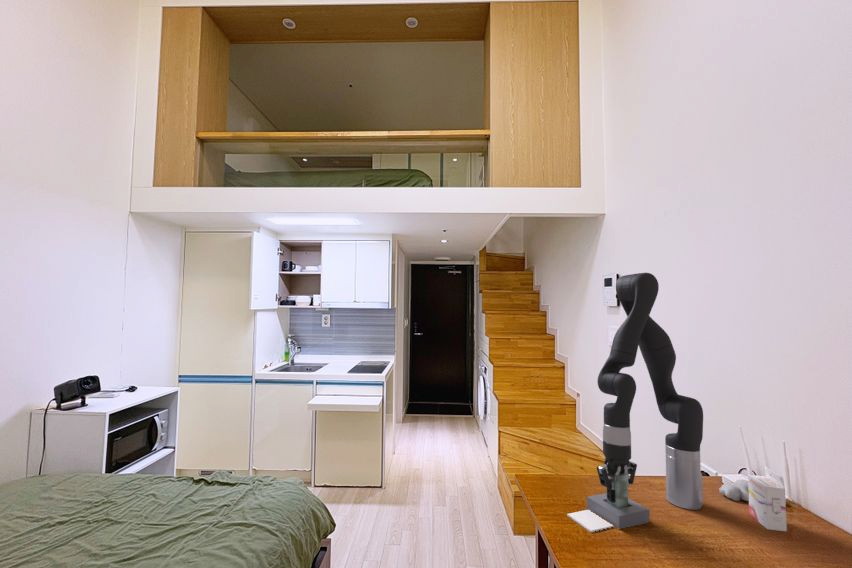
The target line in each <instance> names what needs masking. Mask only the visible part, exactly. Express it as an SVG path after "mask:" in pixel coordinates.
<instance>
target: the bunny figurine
mask: <svg viewBox="0 0 852 568" xmlns="http://www.w3.org/2000/svg"><path fill="white" fill-rule="evenodd" d="M718 491H719V493H720V494H721V495H724V496H725V497H726V498H728V499H731V500H733V501H735V502H740V501H742V500H743V501H746V502H749V488H748V480H747V479H738V480H736V481H734V482H732V481H724V482H723V484H722V485H721V486H720V487H719V488H718Z"/></svg>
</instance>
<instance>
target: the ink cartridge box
mask: <svg viewBox="0 0 852 568" xmlns="http://www.w3.org/2000/svg"><path fill="white" fill-rule="evenodd" d="M764 474H765V476H764V475H756V474H747V481H748V488H749V501H748V513H749V515H750V517H752V518H754V520H755V521H757V522H758V523H760V524H761V525H762V527H764V528H765V529H767V530H770V531H771V530H772V531H779V532H787V531H788V530H787V529H788V527H787V510H786V507H787V504H786V489H785V483H784V481H785V480H784V478H783V476H782V475H781V474H780V473H777V472H775V471H774V470H772V469H770V468H769V467H767V466H764ZM775 477H776V478H775Z"/></svg>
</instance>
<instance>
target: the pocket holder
mask: <svg viewBox="0 0 852 568" xmlns="http://www.w3.org/2000/svg"><path fill="white" fill-rule="evenodd" d="M586 510H590V511H592V512H594V513H595V514H597V515H598V516H600V517H602V518H604V519H605V520H606V521H608V522H609V523H611V524H612V525H614V526H613V527H615V528H616V527H617V528H616V529H618V528H619V529H618V530H622V529H621V528H624V529H626V527H628V528H632V527H636V526H640V525H643V524H648V523H650V509H649V508H647V507H646V506H644V505H642V504H640V503H639V502H636V501H634V500H633V499H630V498H629V497H628V507H625V508H621V509H617V508H615V507H614V506H612V505H610V504H609V503H607V492H604V493H599V494H595V495H589V496H586ZM635 525H636V526H635ZM631 526H632V527H631Z"/></svg>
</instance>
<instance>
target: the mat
mask: <svg viewBox="0 0 852 568" xmlns="http://www.w3.org/2000/svg"><path fill="white" fill-rule="evenodd" d="M566 516H567V517H568V518H569V519H571V520H572V521H573V522H575V523H576V524H578V525H580V526H581V527H582V528H584V529H585V530H587V531H588V532H589V533H590V534H591V533H596V532H599V530H600V531H603V529H605V530H608V529H607V528H609V529H612V528H611V527H613V528H614V526H613V525H612V524H610V523H609V522H607V521H606V520H604V519H602V518H601V517H599V516H598V515H596V514H595V513H593V512H591V511H590V510H588V509H584V510H579V511H576V512H571V513H566ZM595 531H596V532H595Z"/></svg>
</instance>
